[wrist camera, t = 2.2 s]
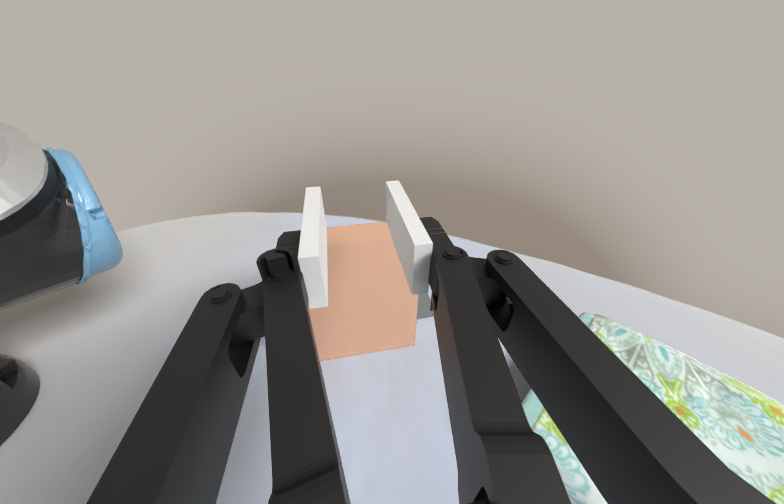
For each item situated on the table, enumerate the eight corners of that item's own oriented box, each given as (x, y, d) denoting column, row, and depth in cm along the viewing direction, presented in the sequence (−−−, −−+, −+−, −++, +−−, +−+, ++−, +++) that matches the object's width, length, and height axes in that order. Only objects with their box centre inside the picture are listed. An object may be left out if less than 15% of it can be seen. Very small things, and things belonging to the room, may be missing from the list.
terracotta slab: (314, 362, 33) (282, 250, 23) (314, 338, 36) (286, 229, 26) (414, 345, 35) (423, 235, 25) (408, 324, 37) (413, 217, 28)
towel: (778, 436, 27) (826, 410, 24) (779, 728, 16) (873, 750, 12) (575, 324, 38) (591, 296, 35) (487, 447, 26) (500, 422, 23)
